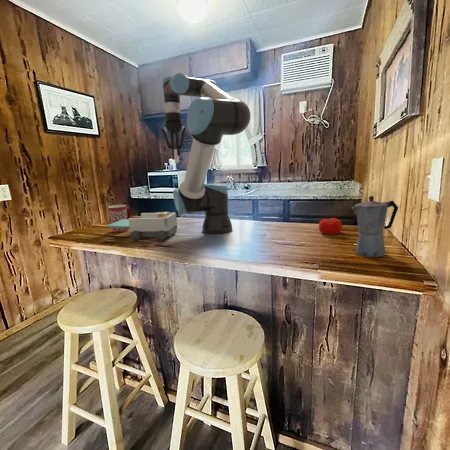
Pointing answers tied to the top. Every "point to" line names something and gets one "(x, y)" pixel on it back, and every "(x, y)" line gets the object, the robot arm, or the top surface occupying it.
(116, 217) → the mug
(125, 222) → the tailgate
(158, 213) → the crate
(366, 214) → the moka pot
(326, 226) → the tomato
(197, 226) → the top surface
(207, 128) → the robot arm
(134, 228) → the trailer
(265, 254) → the top surface
